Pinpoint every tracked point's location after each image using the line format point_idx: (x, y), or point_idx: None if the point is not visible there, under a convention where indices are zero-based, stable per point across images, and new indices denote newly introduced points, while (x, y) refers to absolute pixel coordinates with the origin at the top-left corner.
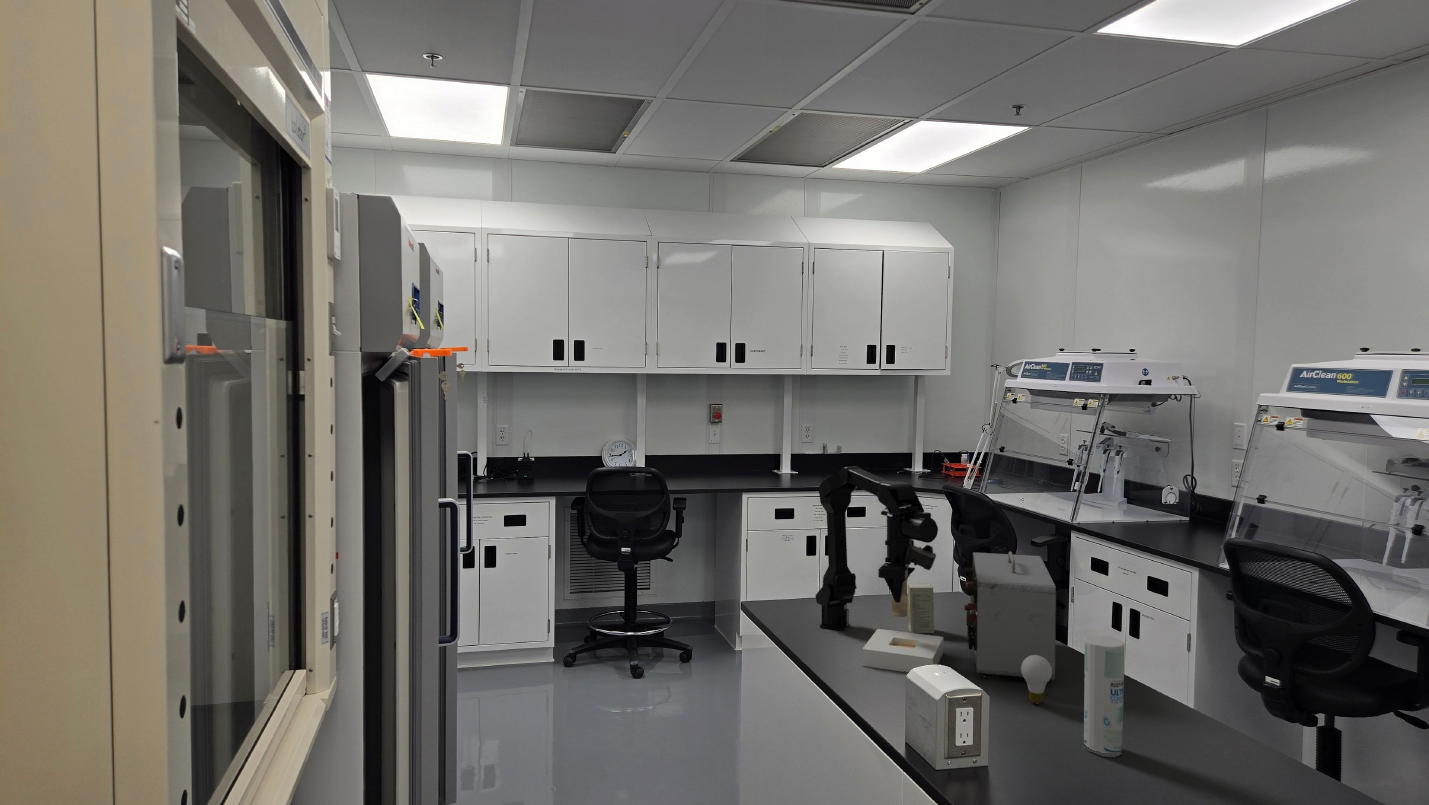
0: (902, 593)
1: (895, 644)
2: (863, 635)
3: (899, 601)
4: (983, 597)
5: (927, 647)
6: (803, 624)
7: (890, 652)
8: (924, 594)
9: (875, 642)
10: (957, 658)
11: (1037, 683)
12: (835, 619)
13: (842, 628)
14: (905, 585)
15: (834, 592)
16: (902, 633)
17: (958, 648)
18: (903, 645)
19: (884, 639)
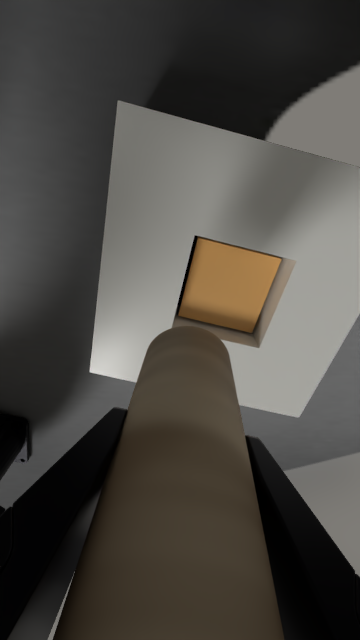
0: (253, 492)
1: (182, 313)
2: (41, 375)
3: (263, 446)
4: None
5: (284, 201)
6: (19, 482)
7: (339, 345)
8: None
9: (236, 383)
10: (183, 54)
11: None
12: (7, 453)
13: (23, 423)
14: (249, 588)
15: None
16: (118, 295)
17: (51, 33)
18: (188, 287)
19: None
